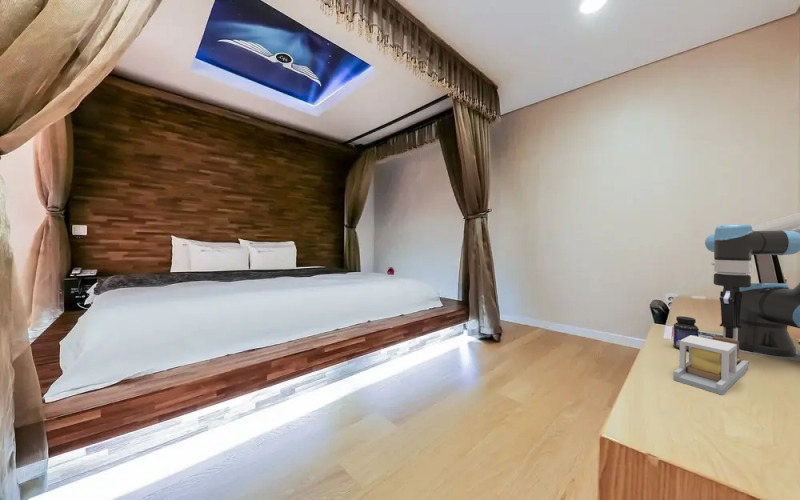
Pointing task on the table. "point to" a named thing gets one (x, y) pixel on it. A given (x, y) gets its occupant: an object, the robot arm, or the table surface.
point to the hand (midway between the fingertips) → (730, 347)
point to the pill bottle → (684, 330)
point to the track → (728, 371)
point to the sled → (709, 361)
